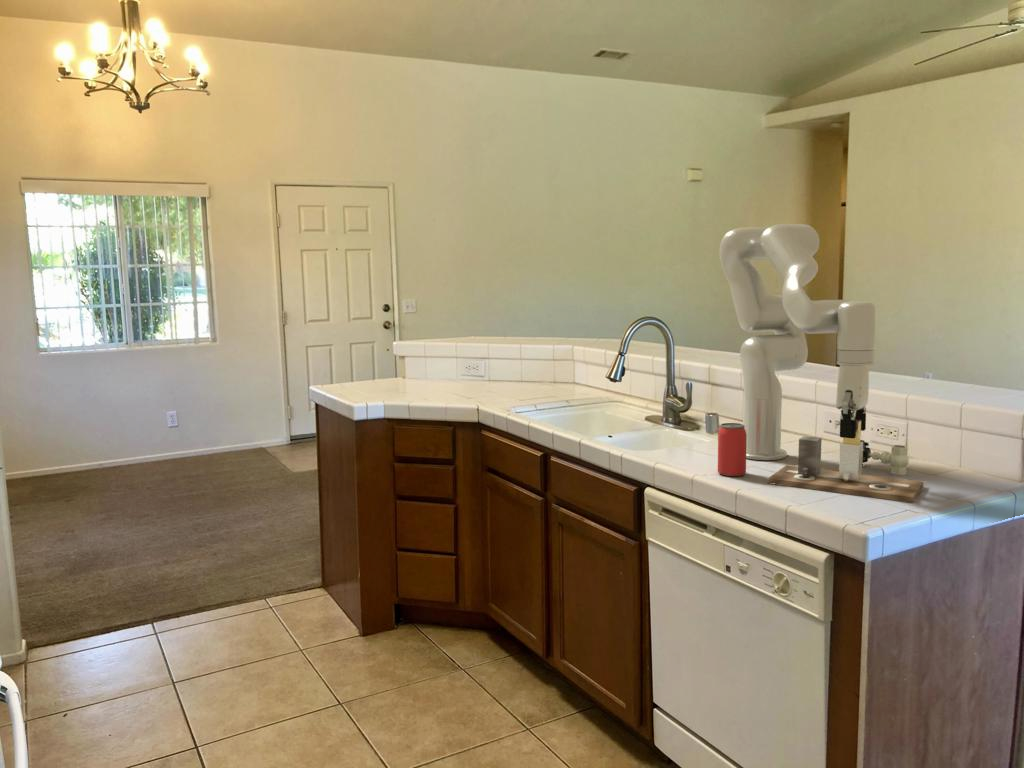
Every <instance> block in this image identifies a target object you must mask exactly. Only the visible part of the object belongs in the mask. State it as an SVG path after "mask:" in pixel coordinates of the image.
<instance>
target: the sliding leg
mask: <svg viewBox="0 0 1024 768" xmlns="http://www.w3.org/2000/svg"><path fill="white" fill-rule="evenodd" d="M861 432H862V431H861V420H856V437H855V438H842V441H841V442H839V464H838V465H839V466H838V472H839V478H841V479H844V481H848V479H849V480H857V481H858V480H859V479H860V478H861V477H862V474H863V466H862V464H863V463H862V460H863V442H860V440H862V439H861V437H862V435H861Z"/></svg>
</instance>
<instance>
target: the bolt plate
mask: <svg viewBox="0 0 1024 768" xmlns="http://www.w3.org/2000/svg"><path fill="white" fill-rule="evenodd" d="M822 439H823V438H822V437H818V436H817V437H816V436H807V435H806V436H805V435H803V436H802V437H800V438H799V439H798V454H797V455H798V461H797V466H795V465H794V466H793V465H785V466H782V468H780V469H779V470H778V471H776V472H775V473H773V474H772V475H770V476H769V477H767V484H769V483H775V484H774V485H777V484H781V485H780V486H784V485H787V486H786V487H792V486H793V487H792V488H801V489H806V490H807V489H808V490H815V491H823V492H828V493H829V492H830V493H835V494H836V493H837V494H844V495H845V494H846V495H852V496H859V497H860V496H861V497H866V498H873V499H875V498H876V499H882V500H889V501H894V502H895V501H897V502H903V503H904V502H905V503H912V504H913V503H914V502H915V501H916V499H917V497H918V496H919V494H920V493H921V491H922V490H923V489H924V485H925V484H924V483H925V481H920V480H912V479H904V478H903V479H902V478H896V477H895V478H894V477H889V476H888V477H887V476H878V475H877V476H876V475H869V474H863V473H862V477H861V478H860V479H859V480H858V481H857V480H849V479H848V481H844V479H841V478H839V470H838V471H836V470H828V469H821V468H822V467H821V465H822Z"/></svg>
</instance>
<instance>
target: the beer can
mask: <svg viewBox="0 0 1024 768" xmlns="http://www.w3.org/2000/svg"><path fill="white" fill-rule="evenodd" d="M719 425H720V427H719V429H718V433H717V472H718V473H720V474H719V475H721V474H722V475H721V476H724V475H726V476H725V477H729V476H738V477H743V476H744V475H745V474H746V473H747V458H746V442H747V434H746V431H745V428H744V427H745V426H744V425H743V423H738V422H724V423H721V424H719Z"/></svg>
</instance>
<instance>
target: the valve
mask: <svg viewBox="0 0 1024 768" xmlns="http://www.w3.org/2000/svg"><path fill="white" fill-rule="evenodd" d="M860 442H863V460H862V467H864V465H865V463H868V461H869V459H870V458H871V459H872V460H874V461H875V460H876V461H879V460H880V461H881V464H884V465H888V464H889V465H890V474H891V475H896V476H904V475H905V476H906V475H907V469H908V468H907V467H908V465H909V462H910V460H909V456H908V452H909V451H908V449H909V448H908V446H907V445H902V444H892V445H891V451H882V453H880V452H878V451H873V452H872V450H871V448H870V447H869V445H870V444H869V442H868V441H867V442H866V441H865V440H863V439H860Z"/></svg>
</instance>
